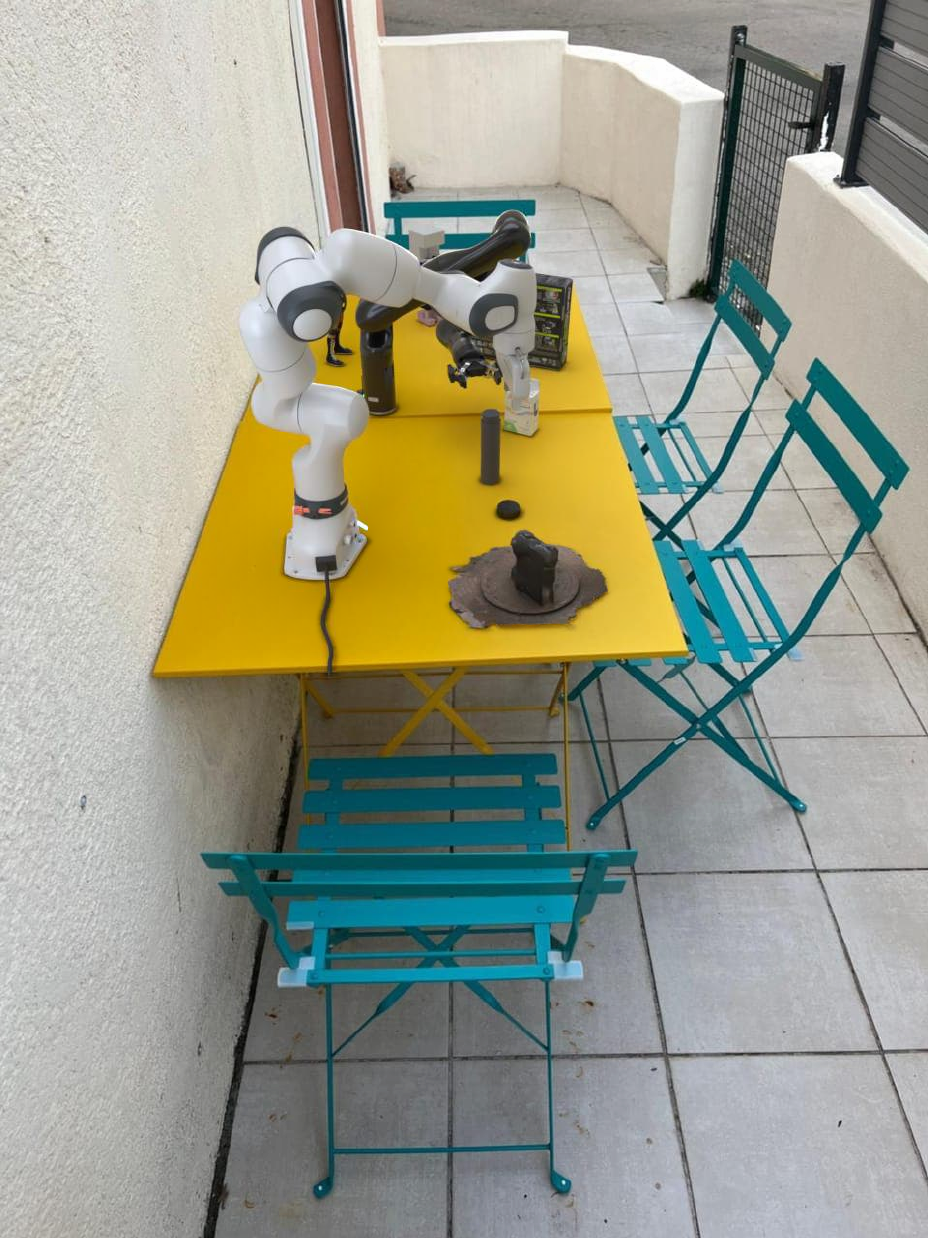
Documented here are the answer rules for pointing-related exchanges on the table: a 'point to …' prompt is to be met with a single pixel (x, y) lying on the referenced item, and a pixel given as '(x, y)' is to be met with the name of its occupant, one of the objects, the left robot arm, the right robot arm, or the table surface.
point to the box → (545, 324)
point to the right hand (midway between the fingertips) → (482, 383)
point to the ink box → (523, 412)
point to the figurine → (336, 344)
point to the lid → (508, 509)
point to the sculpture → (524, 584)
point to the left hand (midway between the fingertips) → (511, 399)
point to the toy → (426, 259)
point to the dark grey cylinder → (490, 446)
